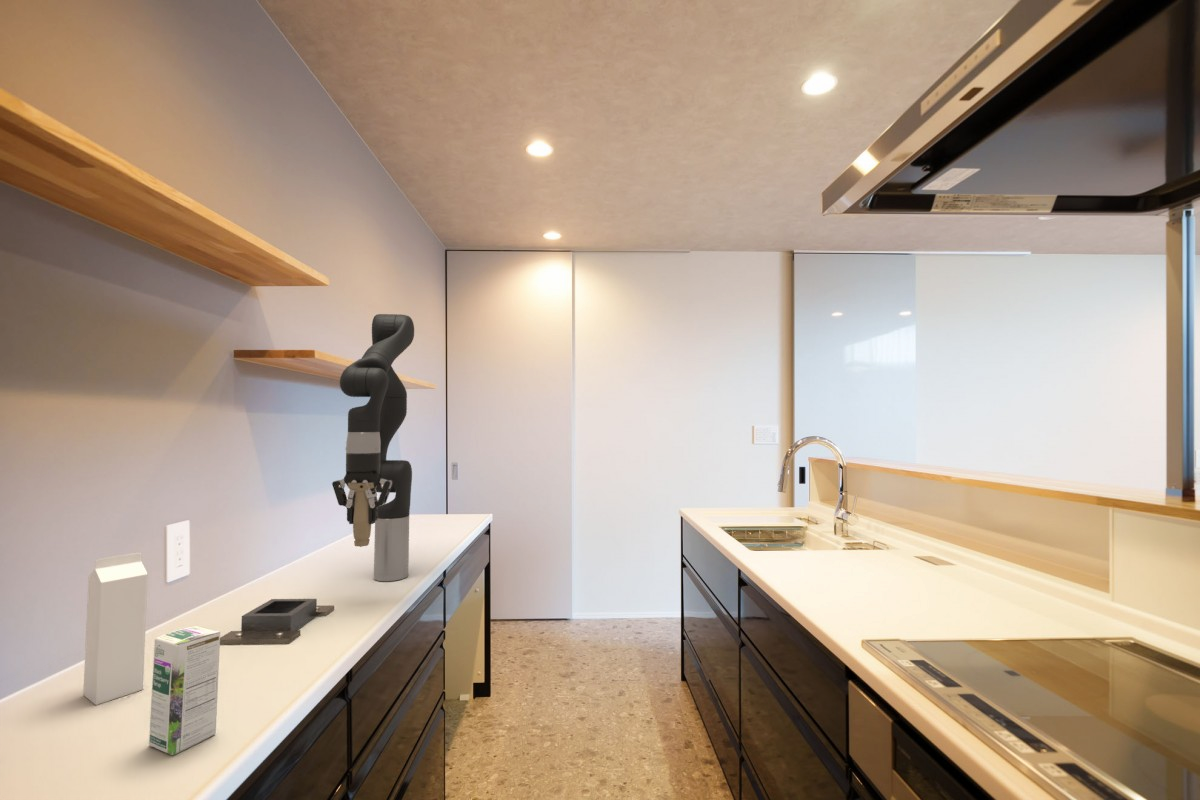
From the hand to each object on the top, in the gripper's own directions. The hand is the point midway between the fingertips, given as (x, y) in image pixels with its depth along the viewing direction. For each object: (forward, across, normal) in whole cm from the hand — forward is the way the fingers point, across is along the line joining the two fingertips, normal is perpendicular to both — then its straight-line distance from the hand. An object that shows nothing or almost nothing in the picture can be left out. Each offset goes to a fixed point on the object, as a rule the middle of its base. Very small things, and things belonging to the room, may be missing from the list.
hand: (362, 523), depth 129 cm
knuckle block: (+20, +13, +10) cm, 26 cm away
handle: (+5, 0, 0) cm, 5 cm away
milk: (+20, +24, +39) cm, 50 cm away
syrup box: (+20, +3, +53) cm, 57 cm away
